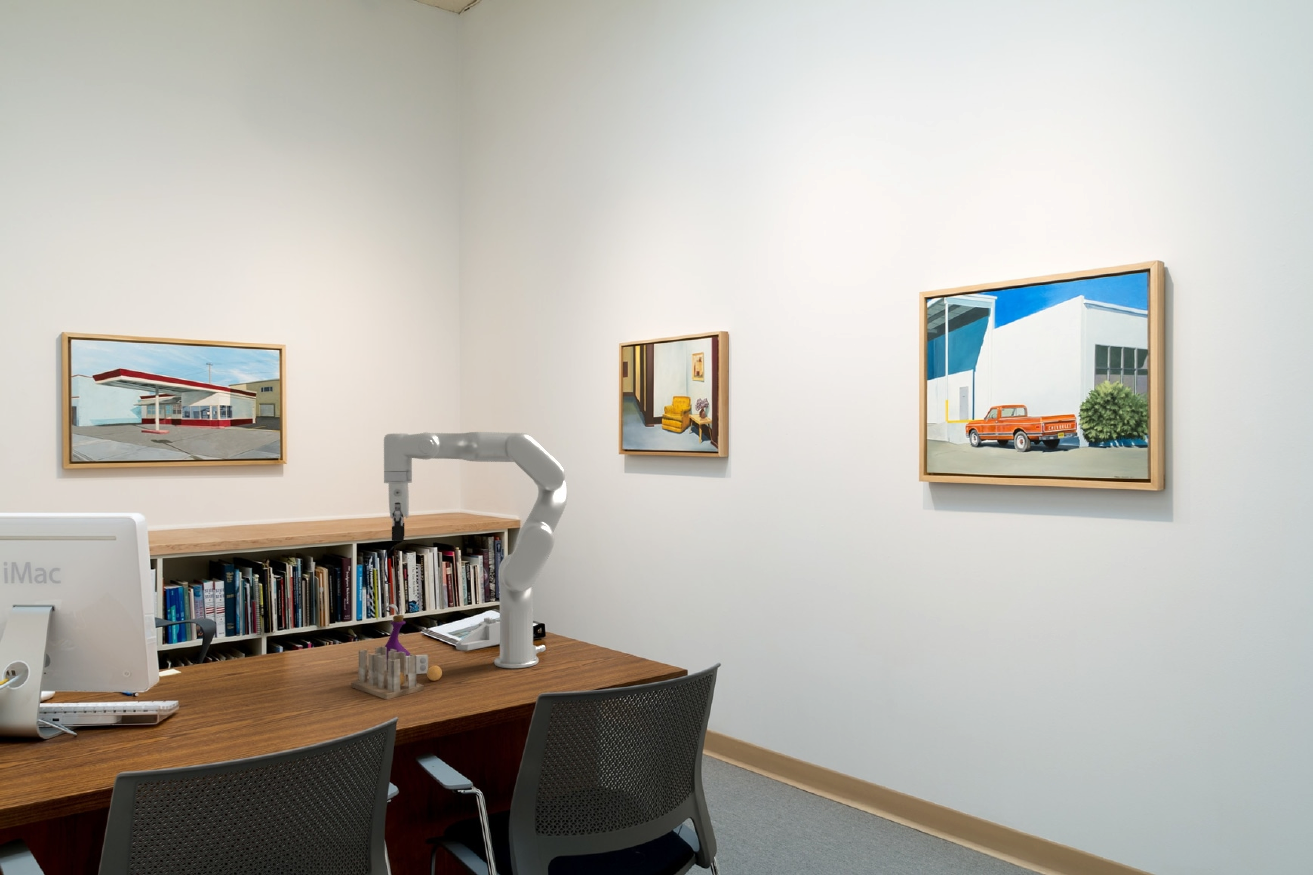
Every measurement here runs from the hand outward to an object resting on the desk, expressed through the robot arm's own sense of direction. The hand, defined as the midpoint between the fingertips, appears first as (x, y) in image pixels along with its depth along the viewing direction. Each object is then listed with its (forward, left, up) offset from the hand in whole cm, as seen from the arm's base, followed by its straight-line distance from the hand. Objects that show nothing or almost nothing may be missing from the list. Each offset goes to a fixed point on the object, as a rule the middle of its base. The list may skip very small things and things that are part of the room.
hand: (398, 538), depth 253 cm
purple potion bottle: (-1, -5, -37) cm, 38 cm away
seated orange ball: (+11, +17, -36) cm, 41 cm away
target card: (-1, +5, -37) cm, 38 cm away
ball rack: (+11, +12, -37) cm, 41 cm away
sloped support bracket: (-35, -8, -38) cm, 52 cm away
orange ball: (-1, +15, -37) cm, 40 cm away
